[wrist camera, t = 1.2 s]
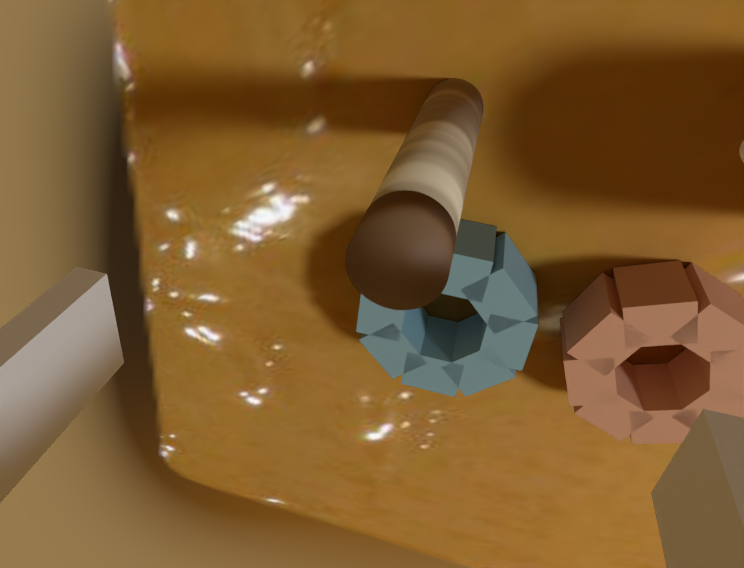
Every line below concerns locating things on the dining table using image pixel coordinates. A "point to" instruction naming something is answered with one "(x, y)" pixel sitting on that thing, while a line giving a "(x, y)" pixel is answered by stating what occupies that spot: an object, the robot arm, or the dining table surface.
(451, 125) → the wooden dowel handle
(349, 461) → the dining table surface
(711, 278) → the bead terracotta
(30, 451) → the robot arm
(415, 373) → the bead
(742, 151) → the mug
